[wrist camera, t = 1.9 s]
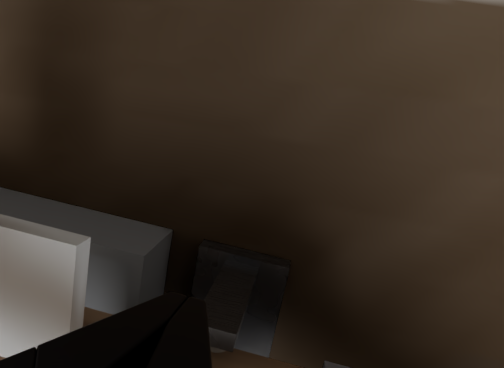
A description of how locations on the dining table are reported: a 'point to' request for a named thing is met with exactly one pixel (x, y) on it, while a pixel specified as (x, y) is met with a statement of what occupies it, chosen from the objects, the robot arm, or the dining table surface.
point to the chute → (63, 292)
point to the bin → (104, 249)
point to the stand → (240, 295)
